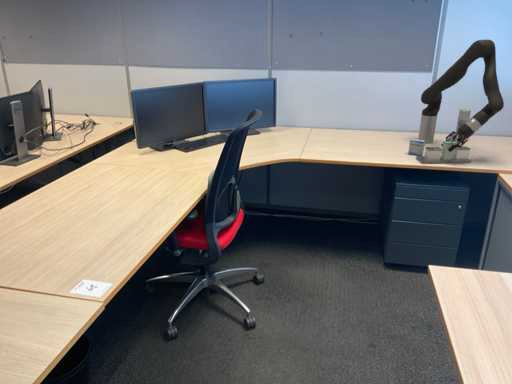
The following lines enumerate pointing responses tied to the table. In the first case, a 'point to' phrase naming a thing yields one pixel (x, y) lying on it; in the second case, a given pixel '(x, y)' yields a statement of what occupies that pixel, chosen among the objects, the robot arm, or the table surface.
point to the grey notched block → (434, 157)
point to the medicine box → (416, 147)
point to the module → (445, 152)
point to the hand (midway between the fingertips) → (445, 148)
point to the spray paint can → (463, 117)
